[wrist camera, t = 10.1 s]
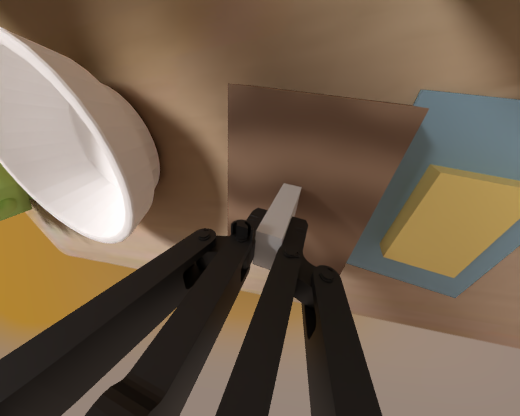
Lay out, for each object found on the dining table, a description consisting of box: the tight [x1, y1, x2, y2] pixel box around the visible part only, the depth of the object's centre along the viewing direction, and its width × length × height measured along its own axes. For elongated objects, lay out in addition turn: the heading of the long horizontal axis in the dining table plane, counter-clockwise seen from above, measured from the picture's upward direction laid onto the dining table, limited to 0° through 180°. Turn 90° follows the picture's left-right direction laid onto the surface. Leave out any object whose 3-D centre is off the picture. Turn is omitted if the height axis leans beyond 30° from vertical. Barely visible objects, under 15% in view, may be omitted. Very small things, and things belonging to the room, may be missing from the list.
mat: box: [346, 90, 520, 298], centre depth 17 cm, size 18×12×1 cm
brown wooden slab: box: [228, 84, 429, 275], centre depth 18 cm, size 16×13×4 cm
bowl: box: [0, 27, 160, 243], centre depth 23 cm, size 22×22×8 cm
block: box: [380, 164, 520, 278], centre depth 16 cm, size 9×6×2 cm, turn 173°
